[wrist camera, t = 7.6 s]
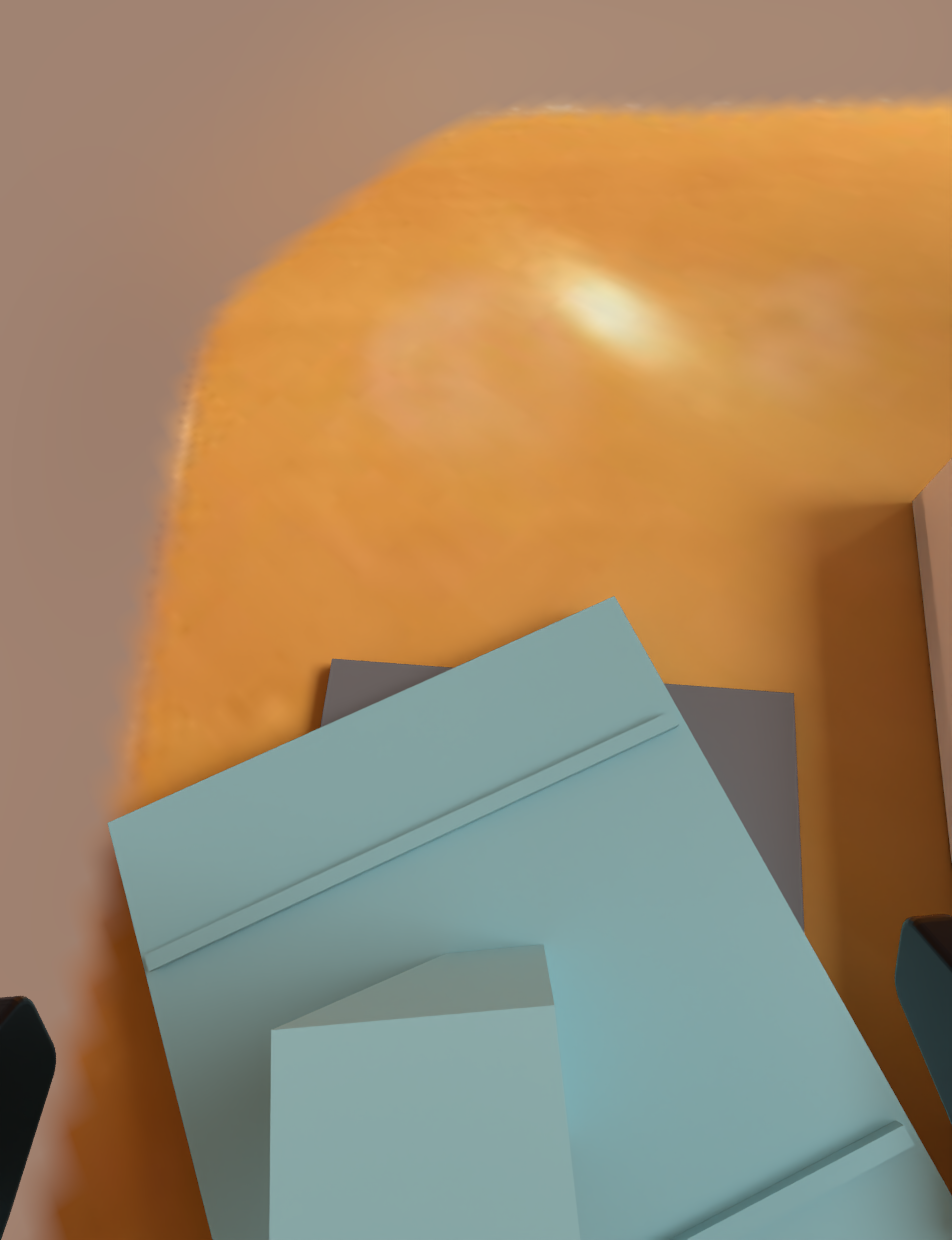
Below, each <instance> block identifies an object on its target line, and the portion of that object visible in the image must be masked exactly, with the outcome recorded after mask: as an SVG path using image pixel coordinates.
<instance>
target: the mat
mask: <svg viewBox="0 0 952 1240" xmlns="http://www.w3.org/2000/svg"><path fill="white" fill-rule="evenodd" d="M451 669H453V668H449V667H436V666H422V665H409V664H396V663H382V662H369V661H356V660H342V659H332V663H331V669H330V674H329V680H328V686H327V692H326V697H325V703H324V709H323V715H322V720H321V726H320V728H321V727H323V726H325V725H328V724H330V723H332V722H334V721H337V720H339V719H341V718H343V717H346V716H348V715H350V714H352V713H354V712H357V711H359V710H361V709H363V708H366V707H368V706H370V705H372V704H375V703H377V702H379V701H381V700H384V699H386V698H388V697H390V696H392V695H395V694H397V693H399V692H401V691H404V690H406V689H408V688H410V687H413V686H415V685H417V684H419V683H422V682H424V681H426V680H428V679H430V678H433V677H435V676H437V675H439V674H442V673H444V672H446V671H448V670H451ZM664 685H665V687H666V689H667V690H668V692H669V694H670V696H671V697H672V699H673V701H674V703H675V705H676V706H677V708H678V710H679V712H680V713H681V715H682V717H683V719H684V721H685V722H686V724H687V726H688V728H689V729H690V731H691V733H692V735H693V737H694V738H695V740H696V742H697V744H698V745H699V747H700V749H701V751H702V753H703V754H704V756H705V758H706V760H707V761H708V763H709V765H710V767H711V769H712V770H713V772H714V774H715V776H716V777H717V779H718V781H719V783H720V785H721V786H722V788H723V790H724V792H725V793H726V795H727V797H728V799H729V801H730V802H731V804H732V806H733V808H734V809H735V811H736V813H737V815H738V817H739V818H740V820H741V822H742V824H743V825H744V827H745V829H746V831H747V833H748V834H749V836H750V838H751V840H752V841H753V843H754V845H755V847H756V849H757V850H758V852H759V854H760V856H761V857H762V859H763V861H764V863H765V865H766V866H767V868H768V870H769V872H770V873H771V875H772V877H773V879H774V881H775V882H776V884H777V886H778V888H779V889H780V891H781V893H782V895H783V897H784V898H785V900H786V902H787V904H788V905H789V907H790V909H791V911H792V913H793V914H794V916H795V918H796V920H797V921H798V923H799V925H800V927H801V929H802V930H803V932H804V913H803V890H802V868H801V845H800V822H799V800H798V777H797V754H796V732H795V709H794V693H782V692H769V691H756V690H742V689H729V688H716V687H702V686H689V685H676V684H664Z"/></svg>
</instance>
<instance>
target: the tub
mask: <svg viewBox="0 0 952 1240" xmlns="http://www.w3.org/2000/svg"><path fill="white" fill-rule="evenodd" d="M912 504H913V513H914V522H915V531H916V540H917V550H918V559H919V568H920V577H921V586H922V595H923V605H924V614H925V623H926V632H927V641H928V650H929V660H930V669H931V678H932V687H933V696H934V705H935V715H936V724H937V733H938V742H939V751H940V760H941V770H942V779H943V788H944V797H945V806H946V815H947V825H948V834H949V843H950V852H951V861H952V458H951V459H950V460H949V462H948V463H947V464H946V465H945V466H944V467H943V468H942V469H941V470H940V471H939V473H938V474H937V475H936V476H935V477H934V478H933V479H932V480H931V481H930V482H929V484H928V485H927V486H926V487H925V488H924V489H923V490H922V491H921V492H920V493H919V495H918V496H917V497H916V498H915V499H914V500H913V501H912Z"/></svg>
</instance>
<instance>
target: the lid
mask: <svg viewBox="0 0 952 1240" xmlns="http://www.w3.org/2000/svg"><path fill="white" fill-rule="evenodd" d="M108 827H109V831H110V835H111V839H112V843H113V847H114V851H115V855H116V859H117V863H118V867H119V870H120V874H121V878H122V882H123V886H124V890H125V894H126V898H127V902H128V906H129V910H130V914H131V918H132V922H133V926H134V930H135V934H136V938H137V942H138V946H139V950H140V954H141V958H142V962H143V966H144V970H145V974H146V978H147V982H148V986H149V990H150V994H151V998H152V1002H153V1006H154V1010H155V1014H156V1017H157V1021H158V1025H159V1029H160V1033H161V1037H162V1041H163V1045H164V1049H165V1053H166V1057H167V1061H168V1065H169V1069H170V1073H171V1077H172V1081H173V1085H174V1089H175V1093H176V1097H177V1101H178V1105H179V1109H180V1113H181V1117H182V1121H183V1125H184V1129H185V1133H186V1137H187V1141H188V1145H189V1149H190V1153H191V1157H192V1161H193V1164H194V1168H195V1172H196V1176H197V1180H198V1184H199V1188H200V1192H201V1196H202V1200H203V1204H204V1208H205V1212H206V1216H207V1220H208V1224H209V1228H210V1232H211V1236H212V1240H952V1195H951V1193H950V1192H949V1190H948V1188H947V1186H946V1184H945V1183H944V1181H943V1179H942V1177H941V1176H940V1174H939V1172H938V1170H937V1168H936V1167H935V1165H934V1163H933V1161H932V1160H931V1158H930V1156H929V1154H928V1152H927V1151H926V1149H925V1147H924V1145H923V1144H922V1142H921V1140H920V1138H919V1136H918V1135H917V1133H916V1131H915V1129H914V1128H913V1126H912V1124H911V1122H910V1120H909V1119H908V1117H907V1115H906V1113H905V1112H904V1110H903V1108H902V1106H901V1104H900V1103H899V1101H898V1099H897V1097H896V1096H895V1094H894V1092H893V1090H892V1088H891V1087H890V1085H889V1083H888V1081H887V1080H886V1078H885V1076H884V1074H883V1073H882V1071H881V1069H880V1067H879V1065H878V1064H877V1062H876V1060H875V1058H874V1057H873V1055H872V1053H871V1051H870V1049H869V1048H868V1046H867V1044H866V1042H865V1041H864V1039H863V1037H862V1035H861V1033H860V1032H859V1030H858V1028H857V1026H856V1025H855V1023H854V1021H853V1019H852V1017H851V1016H850V1014H849V1012H848V1010H847V1009H846V1007H845V1005H844V1003H843V1001H842V1000H841V998H840V996H839V994H838V993H837V991H836V989H835V987H834V985H833V984H832V982H831V980H830V978H829V977H828V975H827V973H826V971H825V969H824V968H823V966H822V964H821V962H820V961H819V959H818V957H817V955H816V953H815V952H814V950H813V948H812V946H811V945H810V943H809V941H808V939H807V937H806V936H805V934H804V932H803V930H802V929H801V927H800V925H799V923H798V921H797V920H796V918H795V916H794V914H793V913H792V911H791V909H790V907H789V905H788V904H787V902H786V900H785V898H784V897H783V895H782V893H781V891H780V889H779V888H778V886H777V884H776V882H775V881H774V879H773V877H772V875H771V873H770V872H769V870H768V868H767V866H766V865H765V863H764V861H763V859H762V857H761V856H760V854H759V852H758V850H757V849H756V847H755V845H754V843H753V841H752V840H751V838H750V836H749V834H748V833H747V831H746V829H745V827H744V825H743V824H742V822H741V820H740V818H739V817H738V815H737V813H736V811H735V809H734V808H733V806H732V804H731V802H730V801H729V799H728V797H727V795H726V793H725V792H724V790H723V788H722V786H721V785H720V783H719V781H718V779H717V777H716V776H715V774H714V772H713V770H712V769H711V767H710V765H709V763H708V761H707V760H706V758H705V756H704V754H703V753H702V751H701V749H700V747H699V745H698V744H697V742H696V740H695V738H694V737H693V735H692V733H691V731H690V729H689V728H688V726H687V724H686V722H685V721H684V719H683V717H682V715H681V713H680V712H679V710H678V708H677V706H676V705H675V703H674V701H673V699H672V697H671V696H670V694H669V692H668V690H667V689H666V687H665V685H664V683H663V681H662V680H661V678H660V676H659V674H658V673H657V671H656V669H655V667H654V665H653V664H652V662H651V660H650V658H649V657H648V655H647V653H646V651H645V649H644V648H643V646H642V644H641V642H640V641H639V639H638V637H637V635H636V633H635V632H634V630H633V628H632V626H631V625H630V623H629V621H628V619H627V617H626V616H625V614H624V612H623V610H622V609H621V607H620V605H619V603H618V601H617V600H616V598H615V596H614V597H611V598H609V599H607V600H605V601H603V602H600V603H598V604H596V605H594V606H591V607H589V608H587V609H585V610H582V611H580V612H578V613H576V614H573V615H571V616H569V617H567V618H565V619H562V620H560V621H558V622H556V623H553V624H551V625H549V626H547V627H544V628H542V629H540V630H538V631H535V632H533V633H531V634H529V635H527V636H524V637H522V638H520V639H518V640H515V641H513V642H511V643H509V644H506V645H504V646H502V647H500V648H497V649H495V650H493V651H491V652H489V653H486V654H484V655H482V656H480V657H477V658H475V659H473V660H471V661H468V662H466V663H464V664H462V665H460V666H457V667H455V668H453V669H451V670H448V671H446V672H444V673H442V674H439V675H437V676H435V677H433V678H430V679H428V680H426V681H424V682H422V683H419V684H417V685H415V686H413V687H410V688H408V689H406V690H404V691H401V692H399V693H397V694H395V695H392V696H390V697H388V698H386V699H384V700H381V701H379V702H377V703H375V704H372V705H370V706H368V707H366V708H363V709H361V710H359V711H357V712H354V713H352V714H350V715H348V716H346V717H343V718H341V719H339V720H337V721H334V722H332V723H330V724H328V725H325V726H323V727H321V728H319V729H316V730H314V731H312V732H310V733H308V734H305V735H303V736H301V737H299V738H296V739H294V740H292V741H290V742H287V743H285V744H283V745H281V746H278V747H276V748H274V749H272V750H270V751H267V752H265V753H263V754H261V755H258V756H256V757H254V758H252V759H249V760H247V761H245V762H243V763H240V764H238V765H236V766H234V767H232V768H229V769H227V770H225V771H223V772H220V773H218V774H216V775H214V776H211V777H209V778H207V779H205V780H202V781H200V782H198V783H196V784H194V785H191V786H189V787H187V788H185V789H182V790H180V791H178V792H176V793H173V794H171V795H169V796H167V797H164V798H162V799H160V800H158V801H156V802H153V803H151V804H149V805H147V806H144V807H142V808H140V809H138V810H135V811H133V812H131V813H129V814H126V815H124V816H122V817H120V818H118V819H115V820H113V821H111V822H109V823H108Z"/></svg>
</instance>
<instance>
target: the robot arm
mask: <svg viewBox="0 0 952 1240" xmlns="http://www.w3.org/2000/svg"><path fill="white" fill-rule="evenodd" d="M895 986H896V991H897V995H898V998H899V1001H900V1003H901V1006H902V1008H903V1011H904V1013H905V1015H906V1018H907V1020H908V1022H909V1025H910V1027H911V1029H912V1032H913V1034H914V1037H915V1039H916V1041H917V1044H918V1046H919V1048H920V1051H921V1053H922V1056H923V1058H924V1060H925V1063H926V1065H927V1067H928V1070H929V1072H930V1074H931V1077H932V1079H933V1082H934V1084H935V1086H936V1089H937V1091H938V1093H939V1096H940V1098H941V1101H942V1103H943V1105H944V1108H945V1110H946V1112H947V1115H948V1117H949V1119H950V1122H951V1124H952V916H950V915H945V914H937V915H925V916H914V917H910V918H907V919H906V920H905V922H904V923H903V925H902V929H901V935H900V942H899V949H898V955H897V962H896V969H895ZM55 1065H56V1053H55V1047H54V1044H53V1042H52V1040H51V1038H50V1036H49V1034H48V1032H47V1030H46V1028H45V1026H44V1024H43V1022H42V1020H41V1018H40V1016H39V1013H38V1011H37V1009H36V1007H35V1005H34V1004H33V1002H32V1001H31V1000H30V999H28V998H27V997H24V996H15V997H4V998H0V1240H1V1238H2V1235H3V1232H4V1229H5V1227H6V1224H7V1221H8V1218H9V1215H10V1212H11V1209H12V1206H13V1202H14V1199H15V1196H16V1193H17V1190H18V1187H19V1184H20V1180H21V1177H22V1174H23V1171H24V1168H25V1165H26V1161H27V1158H28V1155H29V1152H30V1149H31V1146H32V1142H33V1139H34V1136H35V1133H36V1130H37V1126H38V1123H39V1120H40V1117H41V1114H42V1111H43V1107H44V1104H45V1101H46V1098H47V1095H48V1091H49V1088H50V1085H51V1082H52V1079H53V1075H54V1071H55Z"/></svg>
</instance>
